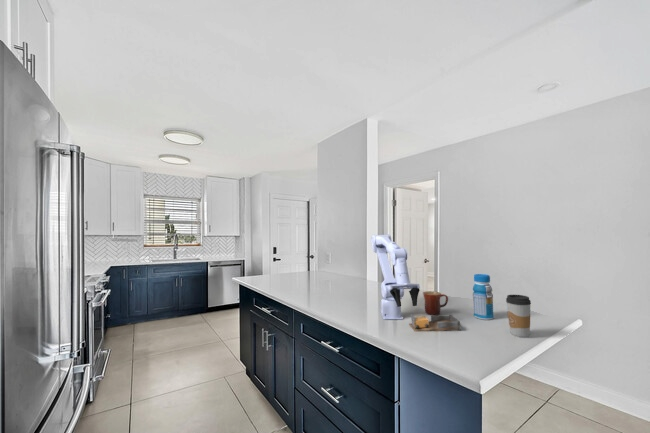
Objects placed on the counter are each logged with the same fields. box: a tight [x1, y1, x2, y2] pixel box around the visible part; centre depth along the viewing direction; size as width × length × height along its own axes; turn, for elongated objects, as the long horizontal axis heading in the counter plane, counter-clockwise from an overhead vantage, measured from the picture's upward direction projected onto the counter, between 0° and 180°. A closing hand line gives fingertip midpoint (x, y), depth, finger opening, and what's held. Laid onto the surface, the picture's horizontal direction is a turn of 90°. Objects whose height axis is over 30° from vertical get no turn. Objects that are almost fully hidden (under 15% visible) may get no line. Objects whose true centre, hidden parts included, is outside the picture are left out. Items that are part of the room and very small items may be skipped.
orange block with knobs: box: [410, 313, 429, 329], centre depth 128 cm, size 6×6×5 cm
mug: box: [422, 290, 449, 316], centre depth 148 cm, size 12×9×10 cm
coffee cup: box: [505, 294, 532, 339], centre depth 117 cm, size 8×8×15 cm
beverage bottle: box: [472, 273, 495, 321], centre depth 140 cm, size 8×8×20 cm
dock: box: [408, 314, 461, 333], centre depth 128 cm, size 19×10×5 cm, turn 87°
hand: (407, 306), depth 127 cm, fingers open, 7 cm apart
